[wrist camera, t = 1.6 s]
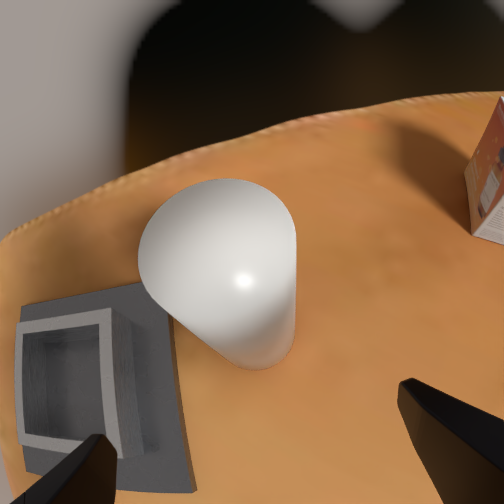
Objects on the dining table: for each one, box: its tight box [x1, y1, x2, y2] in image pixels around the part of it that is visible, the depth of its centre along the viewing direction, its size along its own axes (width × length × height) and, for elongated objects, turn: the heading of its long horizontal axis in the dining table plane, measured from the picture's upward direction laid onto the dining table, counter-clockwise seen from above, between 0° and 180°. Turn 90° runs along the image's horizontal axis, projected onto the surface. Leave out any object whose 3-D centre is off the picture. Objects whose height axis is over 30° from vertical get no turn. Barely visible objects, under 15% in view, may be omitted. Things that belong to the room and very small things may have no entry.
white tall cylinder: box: [138, 179, 296, 370], centre depth 16 cm, size 6×6×12 cm
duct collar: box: [14, 282, 197, 493], centre depth 18 cm, size 16×16×4 cm
